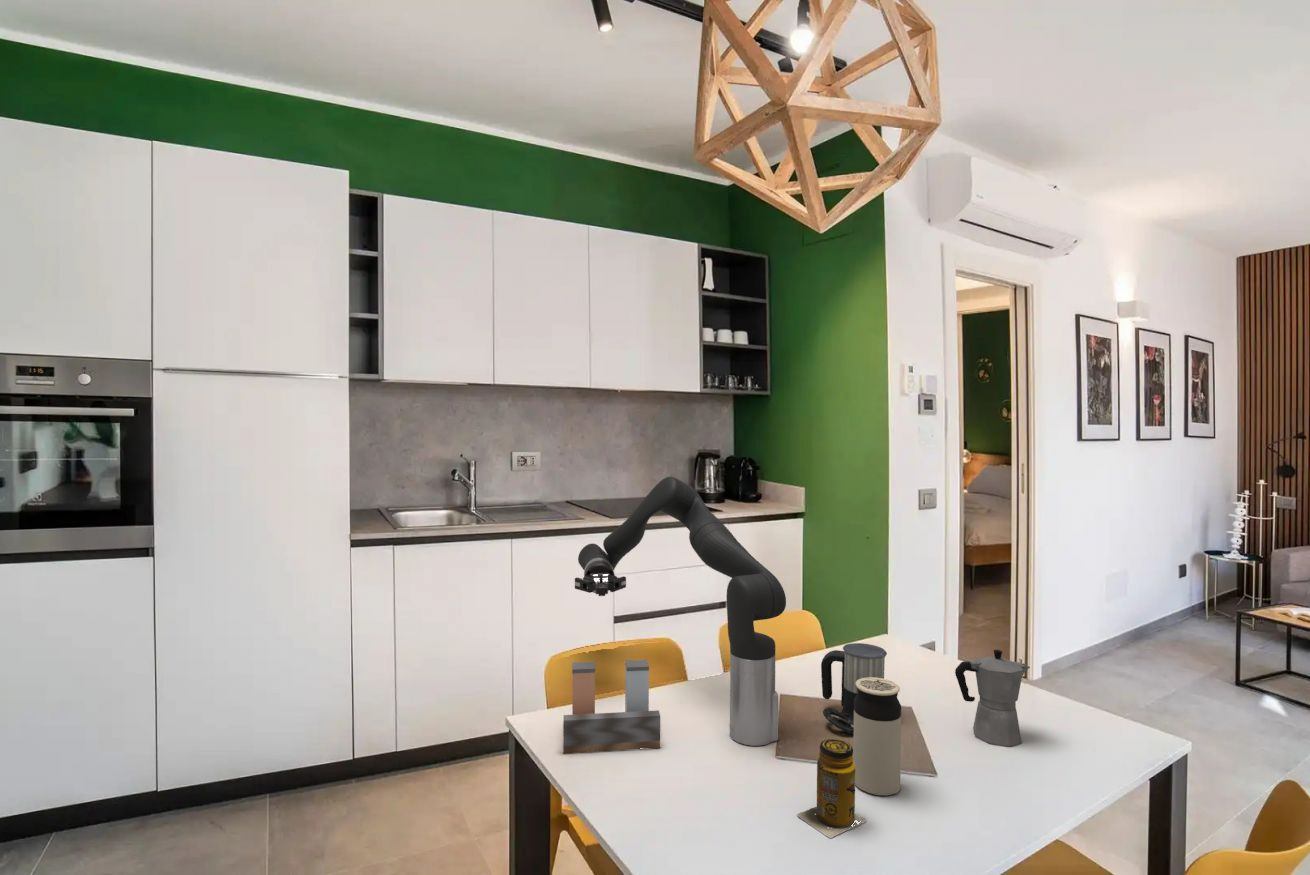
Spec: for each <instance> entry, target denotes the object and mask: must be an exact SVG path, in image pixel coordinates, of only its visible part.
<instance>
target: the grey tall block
mask: <svg viewBox="0 0 1310 875" xmlns="http://www.w3.org/2000/svg"><path fill="white" fill-rule="evenodd" d="M624 665H625V667H624V674H625V677H624V679H625V680H624V687H625V689H624V693H625V694H624V695H625V696H624V698H625V699H624V701H625V702H624V706H625V707H624V712H637V711H650V709H649V708H650V707H649V706H650V701H649V696H650V694H649V693H650V691H649V690H650V689H649V688H650V686H649V684H650V683H649V682H650V677H649V676H650V672H649V671H650V665H649V662H648V660H647V659H627V660H625V661H624Z"/></svg>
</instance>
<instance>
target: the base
mask: <svg viewBox="0 0 1310 875" xmlns="http://www.w3.org/2000/svg"><path fill="white" fill-rule="evenodd" d="M660 713H661V712H660V710H649V711H637V712H625V711H621V712H617V711H616V712H601V713H600V712H597V713H596V712H595V714H576V715H572V714H563V720H562V721H563V725H562V726H563V727H562V728H563V746H562V747H563V754H565V755H566V754H581V753H582V754H583V753H598V752H597V751H603V752H614V751H613V750H621V751H628V750H627V749H639V750H641V749H640V748H656V749H660V748H661V714H660ZM659 747H660V748H659Z"/></svg>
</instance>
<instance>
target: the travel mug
mask: <svg viewBox="0 0 1310 875" xmlns="http://www.w3.org/2000/svg"><path fill="white" fill-rule="evenodd" d="M856 687H857V689H858V694H857V695H856V697H855V699H854V733H853V762H854V764H855V787H857V788H859V789H860V790H861V791H864V792H866V793H868V794H871V795H876V796H891V795H894V794H897V793H898V792H899V791H900V790H901V762H902V761H901V760H902V759H901V758H902V757H901V754H902V752H901V751H902V749H901V748H902V747H901V744H902V732H901V731H902V705H901V702H900V701H899V699H898V696H899V692H900V690H901V688H900V685H898V684H897V683H896V682H894V681H892V680H890V679H886V678H884V679H883V678H875V677H867V678H861V679H859V680H857V681H856Z"/></svg>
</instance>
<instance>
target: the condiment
mask: <svg viewBox="0 0 1310 875" xmlns="http://www.w3.org/2000/svg"><path fill="white" fill-rule="evenodd" d="M853 751H854V747H853V746H852V745H851V744H850V743H848V742H847V741H845V740H842V739H838V738H828V739H824V740H822V741H821V742H820V744H819V753H818V755H819V757H818V759H817V762H816V806H814V807H811V808H808V809H806V810H804V811H802V812H799V813H797V814H796V816H798V817H799V818H800V819H801V820H802V821H803V822H804V823H806V824H808V825H809V826H811V827H812V828H814V830H817V831H818V832H820V833H821V834H822V835H825V836H826V837H827V838H829V839H832V838H834V837H836V836H838V835H840V834H843V833H844V832H847V831H849V830H852V829H853V828H855V826H856V827H857V825H858V824H857V823H856V822H855V823H854V821H855V820H857V821H858V822H860V821H861V822H860V823H859V824H860V825H862V824H863V823H866V821H867V820H866V819H865V818H863V817H862V816H859V815H857V814H855V811H856V785H855V764H854V762H853ZM862 822H863V823H862ZM853 823H854V824H853ZM861 823H862V824H861ZM852 824H853V827H852V826H851V825H852ZM854 825H855V826H854ZM858 826H859V825H858ZM828 827H829V828H828ZM849 828H850V829H849Z"/></svg>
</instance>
